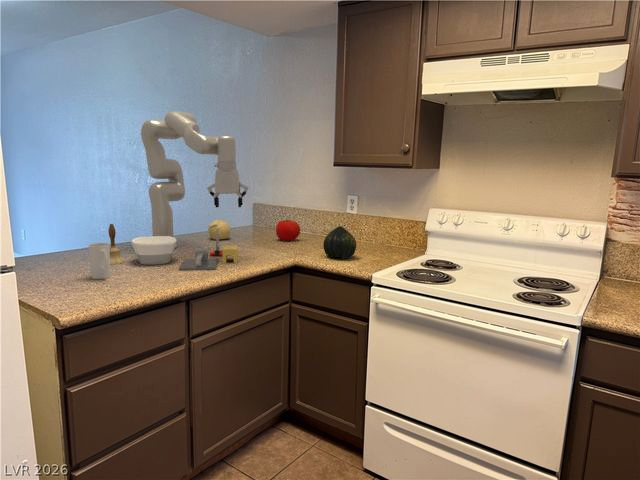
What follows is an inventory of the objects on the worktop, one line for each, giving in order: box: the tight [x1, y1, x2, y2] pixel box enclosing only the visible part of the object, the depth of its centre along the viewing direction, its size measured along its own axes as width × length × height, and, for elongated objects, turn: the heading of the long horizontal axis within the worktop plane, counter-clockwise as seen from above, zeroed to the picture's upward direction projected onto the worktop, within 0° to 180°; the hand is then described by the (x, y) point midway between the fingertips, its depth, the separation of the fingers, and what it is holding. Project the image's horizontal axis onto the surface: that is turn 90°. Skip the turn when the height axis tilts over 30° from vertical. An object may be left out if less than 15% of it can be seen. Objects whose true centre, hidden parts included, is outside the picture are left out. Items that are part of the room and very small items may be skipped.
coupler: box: [178, 247, 220, 271], centre depth 184 cm, size 14×18×5 cm
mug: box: [88, 242, 111, 280], centre depth 160 cm, size 10×7×12 cm, turn 45°
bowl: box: [131, 235, 178, 266], centre depth 188 cm, size 18×18×9 cm
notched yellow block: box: [222, 245, 239, 264], centre depth 193 cm, size 6×8×6 cm
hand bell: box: [108, 223, 126, 265], centre depth 184 cm, size 8×8×16 cm
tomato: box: [275, 219, 301, 242], centre depth 246 cm, size 12×13×12 cm
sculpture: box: [207, 219, 232, 241], centre depth 244 cm, size 12×12×11 cm
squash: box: [322, 225, 357, 260], centre depth 206 cm, size 14×15×15 cm
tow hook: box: [209, 228, 223, 257], centre depth 205 cm, size 8×13×9 cm
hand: (228, 207), depth 191 cm, fingers open, 9 cm apart
